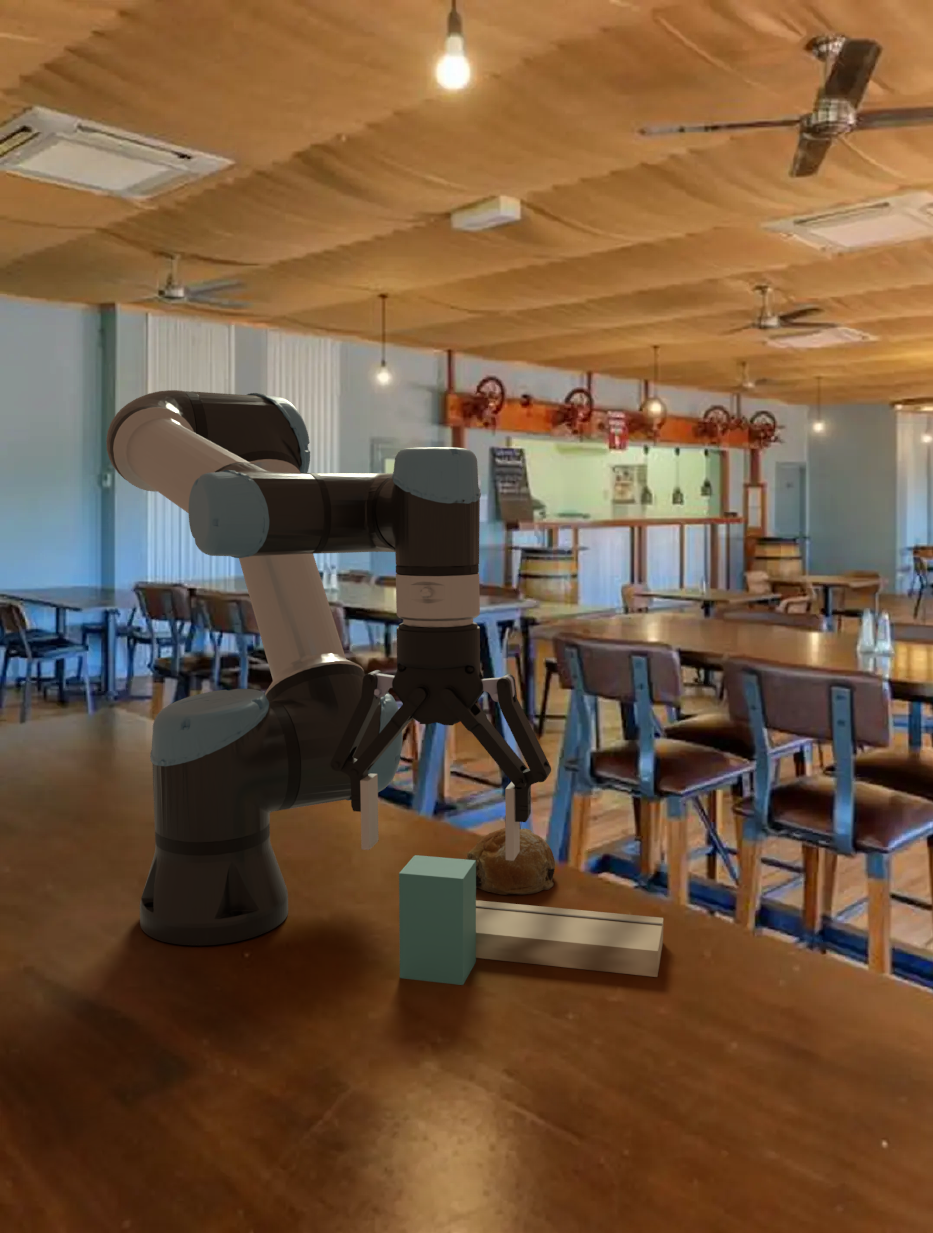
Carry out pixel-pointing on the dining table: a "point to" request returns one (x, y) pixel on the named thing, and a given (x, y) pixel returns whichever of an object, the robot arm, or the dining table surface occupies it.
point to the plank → (569, 938)
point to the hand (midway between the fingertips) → (440, 850)
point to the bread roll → (513, 864)
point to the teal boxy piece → (437, 919)
